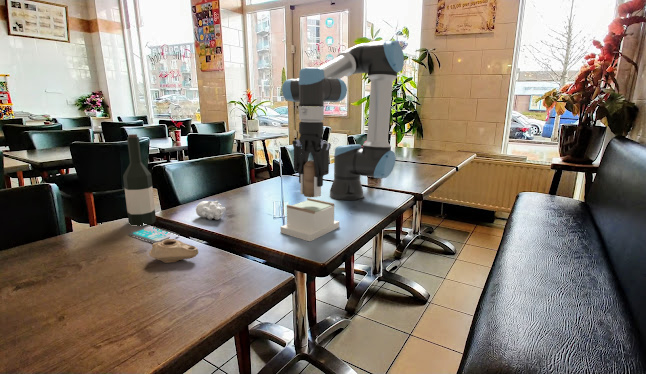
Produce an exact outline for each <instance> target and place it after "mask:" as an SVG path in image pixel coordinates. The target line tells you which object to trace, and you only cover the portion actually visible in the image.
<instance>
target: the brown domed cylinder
mask: <svg viewBox="0 0 646 374" xmlns="http://www.w3.org/2000/svg"><path fill="white" fill-rule="evenodd" d="M315 175H316V171H315V166H314V160H313V159H312V160H311V159H310V160H308V161H307V162H306V163H305V164H304V194H303V196H304V197H305V198H315V197H314V177H315Z"/></svg>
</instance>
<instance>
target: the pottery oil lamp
mask: <svg viewBox="0 0 646 374" xmlns="http://www.w3.org/2000/svg"><path fill="white" fill-rule="evenodd" d="M151 246H152V248H151V250H150V251H149V252H148V255H149V256H150V257H152V258H153V259H156V260H158V261H161V262H163V263H168V264H169V263H176V262H178V261H179V260H180V261H181V260H188V259H189V260H190V259H194V257H196V256H198V255H199V249H198V247H197V246H196V245H192V244H191V245H190V244H188V243H185V242H183V241H181V240H177V239H165V240H163V241H162V242H157V243H153V244H152V243H151Z"/></svg>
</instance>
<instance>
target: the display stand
mask: <svg viewBox="0 0 646 374" xmlns="http://www.w3.org/2000/svg"><path fill="white" fill-rule="evenodd" d="M339 228H340V221H339V220H335V203H333V202H330V201H325V200H319V199H315V198H312V197H306V200H303V201H301V202H298V203H295V204H287V205H286V224H284V225H282V226H280V233H281V234H284V235H287V236H291V237H293V238H297V239H300V240H302V241H306V242H307V241H308V242H311V241H314V240H317V239H318V238H320V237H322V236H324V235H327V234H328V233H330V232H332V231H335V230H337V229H339Z"/></svg>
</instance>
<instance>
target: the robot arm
mask: <svg viewBox="0 0 646 374" xmlns="http://www.w3.org/2000/svg"><path fill="white" fill-rule="evenodd" d="M402 48H403V47H402V46H401V44H400V43H399V42H398V41H397V40H382V41H373V42H363V43H359V44H356V45H354V46H352V47H349V48H347V49H346V50H344V51H342V52H339V53H338V54H337V56H336V58H334V59H333V60H332V59H331V60H330V61H328V62H327V63H324V64H323V65H321V66H319V67H302V68H301V69H299V76H298V78H290V79H289V78H288V79H286V80H285V81H284V82H283V84H282V86H281V92H282V96H283V98H284V99H285V100H286V101H289V102H294V103H297V102H298V106H299V107H298V119H299V120H300V121H299V123H298V134H300V135H299V138H298V139H295V140H292V147H293V171H294V172H296V173H298V182H299V184H300V195H304V164H305V163H306V162H307V161H309V157H310V155H311V156H312V160H313V161H314V166H315V171H316V175H315V177H314V197H313V198H319V197H321V196H322V187H323V185H324V176H328V175H329V172H330V171H329V170H330V163H329V162H330V150H331V146H332V143H331V142H326V141H324V138H323V134H324V122H323V121H324V118H325V117H324V116H325V115H324V112H325V111H324V110H325V109H324V105H325V104H324V103H338V102H342V101H343V100H344V99H345V98H346V97H347V93H348V86H347V84H346V82H345V81H344V80H342V78H344V77H350V76H352V75H356V74H367V78H368V80H370V92H369V93H370V94H369V105H368V107H369V108H368V120H367V121H368V122H367V134H366V135H367V136H366V137H367V138H366V141H365V142H364V143H363V144H362V145H361V144H358V143H357V144H344V145H337V146H336V147H335V148H334V155H333V158H334V160H333V161H334V163H333V181H332V183H331V187H330V189H329V197H331V198H332V199H335V200H341V201H355V200H361V199H363V198H364V189H363V186H362V183H361V176H363V177H370V178H374V179H386V178H388V177H389V176H390V175H391V174H392V172H393V170H394V167H395V163H396V157H397V156H396V154H395V152H394V151H393V150H392V145H391V144H390V143H389V130H390V129H389V128H390V119H391V104H392V95H393V94H392V93H393V82H394V81H395V80H396V79H397V78H398V73H400V72H401V71H402V70H403V68H404V65H405V64H404V62H405V58H404V51H403V49H402Z"/></svg>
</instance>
